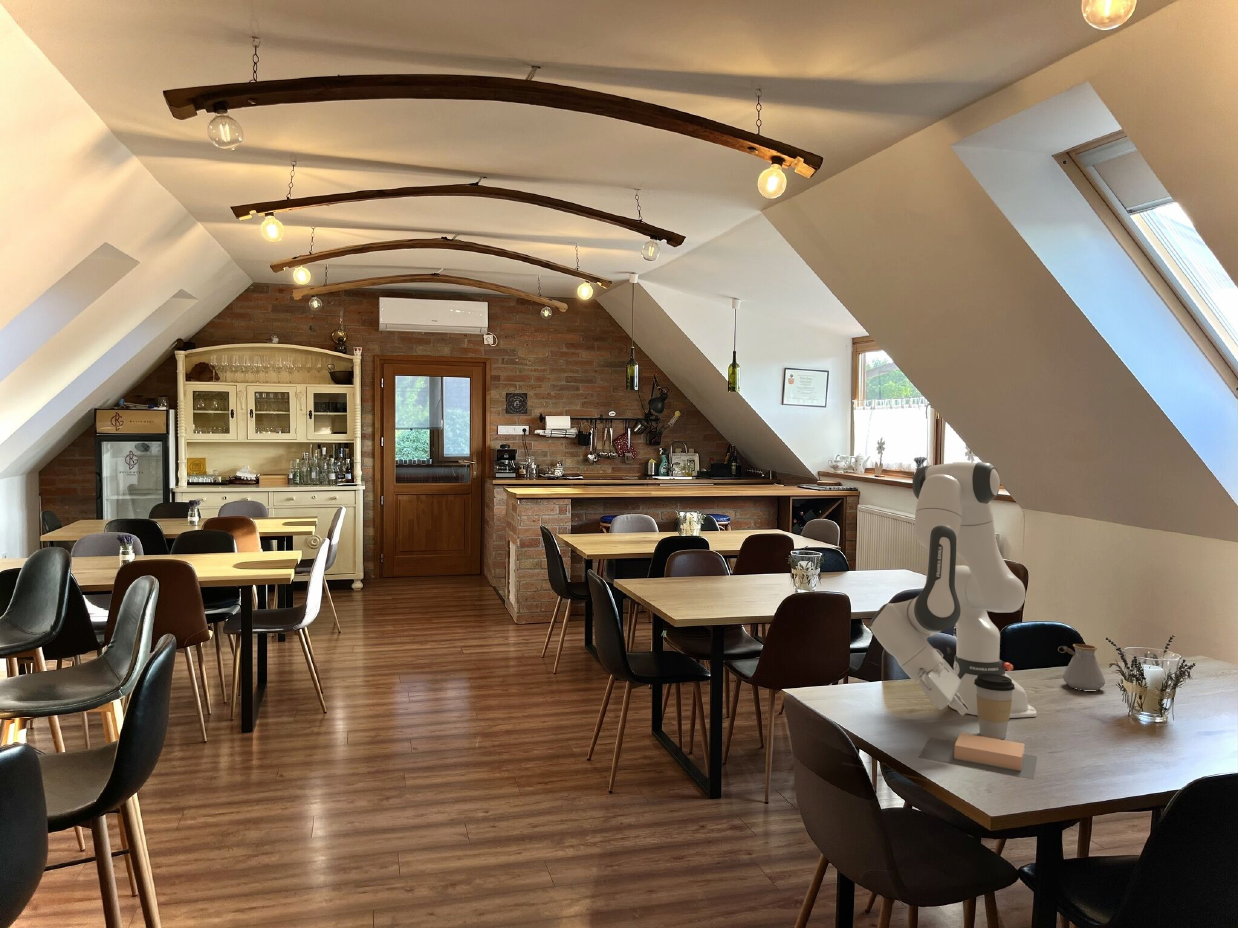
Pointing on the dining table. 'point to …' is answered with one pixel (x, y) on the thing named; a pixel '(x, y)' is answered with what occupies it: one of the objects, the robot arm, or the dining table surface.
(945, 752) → the mat
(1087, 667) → the coffee pot
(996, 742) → the block
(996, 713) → the coffee cup
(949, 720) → the dining table surface
